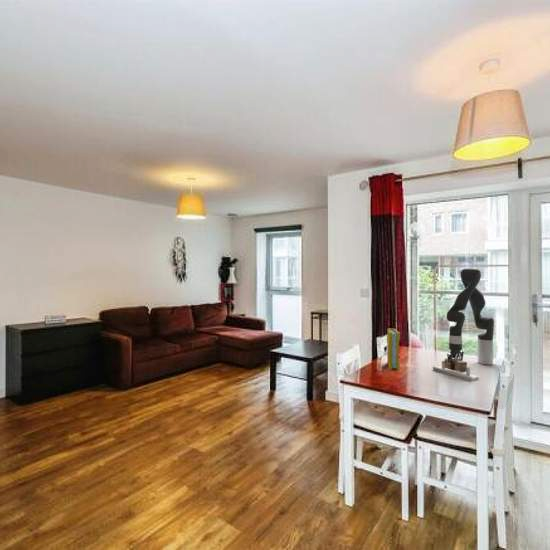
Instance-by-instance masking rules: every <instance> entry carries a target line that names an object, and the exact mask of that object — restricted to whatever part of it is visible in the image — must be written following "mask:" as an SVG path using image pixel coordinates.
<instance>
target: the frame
mask: <svg viewBox="0 0 550 550" xmlns="http://www.w3.org/2000/svg"><path fill="white" fill-rule="evenodd" d="M444 361H445V368H447V369H450V370H454V371H457V372H461V373H463V372H464V373H466V367H468V362H467V361H464V360H462V361H460V360H455V363H454V364H455V369H451V363H449V362H448V357H447V358H444Z"/></svg>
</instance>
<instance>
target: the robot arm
mask: <svg viewBox="0 0 550 550" xmlns="http://www.w3.org/2000/svg"><path fill="white" fill-rule="evenodd" d="M481 278H482V272H481V270H480V269H478V268H462V269H461V271H460V280H461V282H462V285H463V287H464V288H463V290H461V291H460V292H459V293H458V295H457V296H456V297H455V300H454V303H453V305H452V306H451V307H450V309H448V311H447V313H446V320H447V321H448V322H450V323H456V324H455V325H451V326H449V331H448V332H449V336H448V350H450V352H449V353H447V354H446V357H447V358H448V362H449V363H451V369H455V364H454V363H455V360H460V361H464V360H463V359H464V351H462V350H463V336H462V335H463V334H462V333H463V331H462V330H463V327H464V322H465V321H466V316H465V313H463V311H465V310H466V308H467V306H468V302H469V305H470V306H471V307H470V308H471V310H472V314H473V318H474V319H473V320H474V324H475V327H476V328H477V329H478V330H484V331H486V332H483V333H479V334H478V335H477V363H478V364H480V365H485V364H486V366H488V365H489V366H490V365H491V364H492V365H493V364H494V328H495V320H494V318H493V317H492V316H491V317H490V316H483V315H481V313H482V311H483V309H484V307H486V306H485V305H486V300H485V296H484V294H483V293H482V291H481V290H479V289H478V288H477V286H478V284H479V283H480V281H481Z"/></svg>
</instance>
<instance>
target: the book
mask: <svg viewBox="0 0 550 550" xmlns="http://www.w3.org/2000/svg"><path fill="white" fill-rule="evenodd" d="M386 331H387V332H386V333H387V334H386V344H387V346H386V347H387V349H386V350H387V354H386V355H387V366H388V369H389V370H393V369H396V370H397V371H400V369H401V368H400V366H401V363H400V340H401V339H400V338H401V333H400V331H398V329H396V328H390V327H389V328H387V330H386Z"/></svg>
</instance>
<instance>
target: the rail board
mask: <svg viewBox="0 0 550 550" xmlns="http://www.w3.org/2000/svg"><path fill="white" fill-rule="evenodd" d="M432 370H433V371H435V372H438V373H442V374H446V375H447V376H451V377H454V378H459V379H462V380H466V381H469V382H473V381H477V380H479V376H478V375H474V374H471V367H469V366H467V367H466V372H463V373H461V372H457V371H454V370H450V369H447V368H445V360H441V365H440V366H436V365H433V366H432Z"/></svg>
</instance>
